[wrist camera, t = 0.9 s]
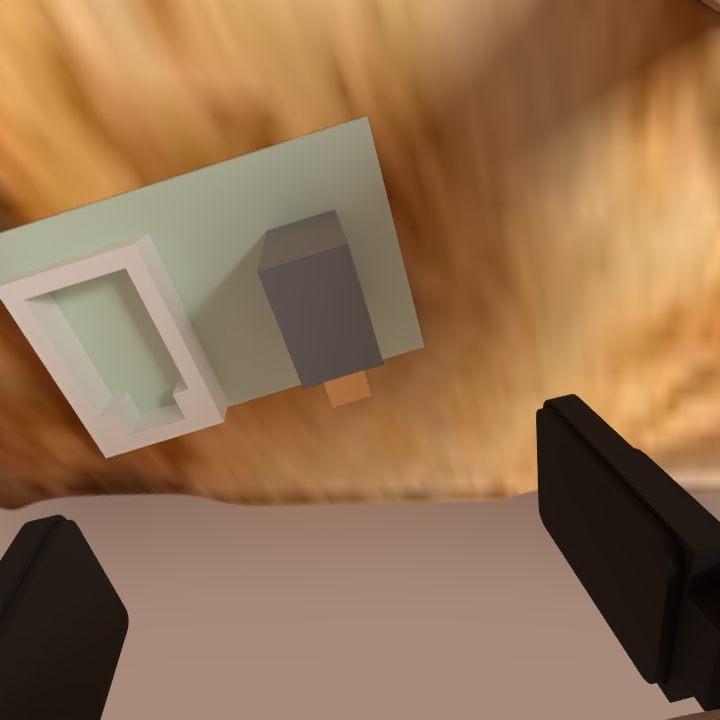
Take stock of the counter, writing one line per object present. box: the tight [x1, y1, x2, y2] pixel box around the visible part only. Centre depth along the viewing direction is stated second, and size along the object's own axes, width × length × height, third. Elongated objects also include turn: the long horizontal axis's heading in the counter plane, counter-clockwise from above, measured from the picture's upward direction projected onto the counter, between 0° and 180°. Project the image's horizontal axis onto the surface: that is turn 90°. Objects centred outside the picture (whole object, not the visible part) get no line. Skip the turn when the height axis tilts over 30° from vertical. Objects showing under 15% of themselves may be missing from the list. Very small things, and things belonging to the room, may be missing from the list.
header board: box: [0, 116, 424, 458], centre depth 29 cm, size 22×14×4 cm, turn 106°
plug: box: [257, 209, 384, 408], centre depth 26 cm, size 4×8×8 cm, turn 16°
